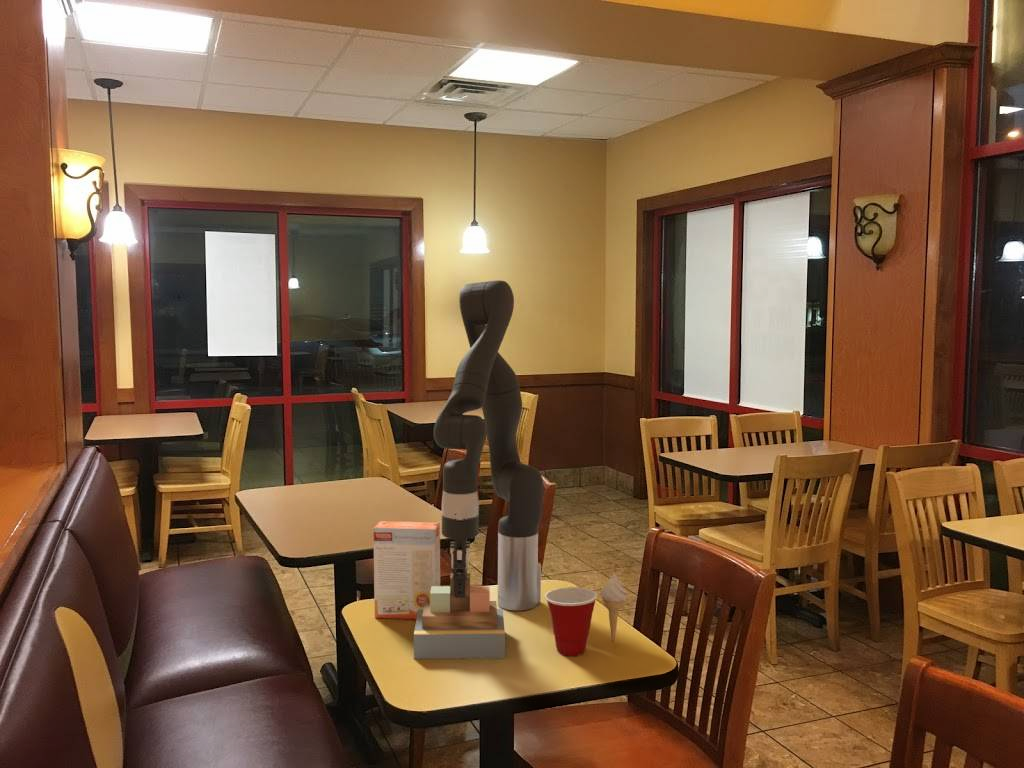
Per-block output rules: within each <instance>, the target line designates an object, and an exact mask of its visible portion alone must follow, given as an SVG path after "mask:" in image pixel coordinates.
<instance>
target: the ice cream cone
mask: <svg viewBox="0 0 1024 768" xmlns="http://www.w3.org/2000/svg"><path fill="white" fill-rule="evenodd" d="M627 595H628V592H627V590H625V588H624V586H623V584H622V583H621V582H620V580H619V578H618V576H617V574H616V572H615V571H614V572H613V574H612V576H611V577H610V578H609V581H607V582H606V583H605V585H604V586H603V588H602V589H601V590H600V598H601V599H602V601H603V606H604V607H605V608H606V609H607V611H608V619H609V629H610V640H611V642H613V641H614V642H615V641H616V635H617V633H616V632H617V625H618V619H619V611H620V610H621V609H622V608H623V607H624V604H625V601H626V600H627Z"/></svg>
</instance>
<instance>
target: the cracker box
mask: <svg viewBox="0 0 1024 768" xmlns="http://www.w3.org/2000/svg"><path fill="white" fill-rule="evenodd" d="M440 525H441V524H440V522H430V521H429V522H427V521H426V522H424V521H421V522H420V521H417V522H416V521H395V520H394V521H392V520H390V521H389V520H380V521H378V523H377V524H376V525H375V526H374V527H373V583H374V584H373V589H374V591H373V592H374V593H373V594H374V595H373V596H374V597H373V598H374V618H377V619H378V618H379V619H397V620H399V619H400V620H402V619H403V620H416V619H417V614H418V609H424V603H425V601H430V592H431V586H441V527H440Z"/></svg>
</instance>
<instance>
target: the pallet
mask: <svg viewBox="0 0 1024 768" xmlns="http://www.w3.org/2000/svg"><path fill="white" fill-rule="evenodd" d="M466 575H467V577H466V580H465V597H464V598H455V597H454V580H453V572H450V577H449V579H450V580H449V584H450V585H449V586H450V612H430V601H425V603H424V609H423V615H422V629H480V628H497V609H498V608H497V605H498V603H497V600H490V612H470V586H471V572H466Z"/></svg>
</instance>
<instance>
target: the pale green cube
mask: <svg viewBox="0 0 1024 768" xmlns="http://www.w3.org/2000/svg"><path fill="white" fill-rule="evenodd" d="M430 612H450V585H444V586H443V585H442V586H441V585H440V586H431V592H430Z"/></svg>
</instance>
